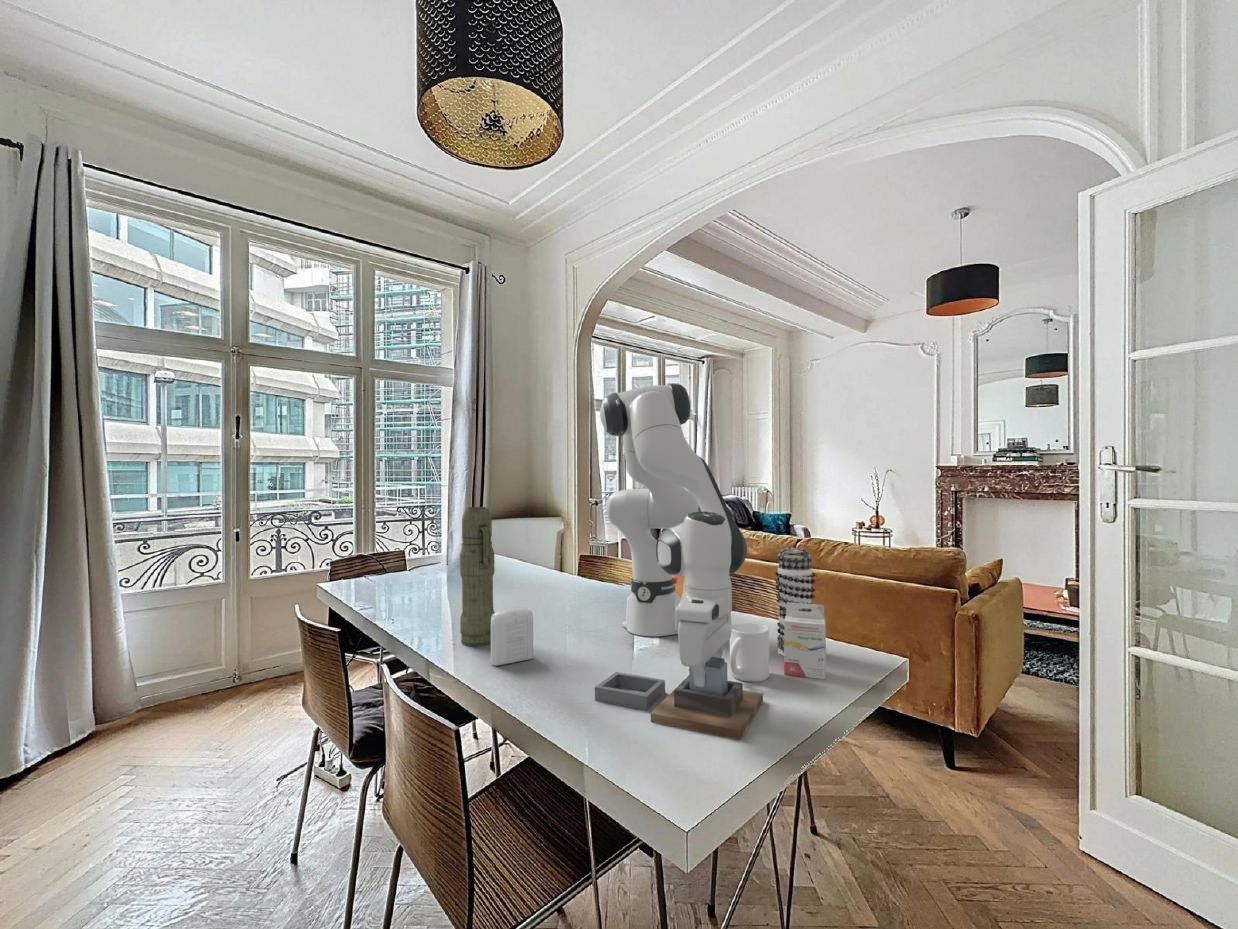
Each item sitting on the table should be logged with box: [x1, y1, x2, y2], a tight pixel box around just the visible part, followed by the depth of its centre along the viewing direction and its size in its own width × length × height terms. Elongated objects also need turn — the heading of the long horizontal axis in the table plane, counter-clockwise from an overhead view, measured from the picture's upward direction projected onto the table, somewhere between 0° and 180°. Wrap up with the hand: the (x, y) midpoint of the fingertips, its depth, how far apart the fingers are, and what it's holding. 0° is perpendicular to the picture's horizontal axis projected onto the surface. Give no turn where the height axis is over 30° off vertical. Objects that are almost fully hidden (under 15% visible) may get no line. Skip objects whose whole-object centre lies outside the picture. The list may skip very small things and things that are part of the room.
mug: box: [729, 622, 771, 683], centre depth 120 cm, size 12×8×10 cm
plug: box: [688, 657, 729, 696], centre depth 104 cm, size 4×6×8 cm, turn 63°
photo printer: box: [490, 606, 534, 666], centre depth 133 cm, size 10×4×12 cm, turn 123°
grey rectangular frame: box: [594, 671, 666, 711], centre depth 112 cm, size 9×11×2 cm
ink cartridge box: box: [783, 602, 827, 680], centre depth 123 cm, size 9×5×15 cm, turn 71°
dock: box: [650, 675, 764, 741], centre depth 104 cm, size 17×16×4 cm
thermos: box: [459, 506, 496, 647], centre depth 149 cm, size 9×12×35 cm
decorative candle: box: [775, 547, 816, 657], centre depth 136 cm, size 9×9×25 cm
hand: (708, 676), depth 104 cm, fingers open, 8 cm apart
